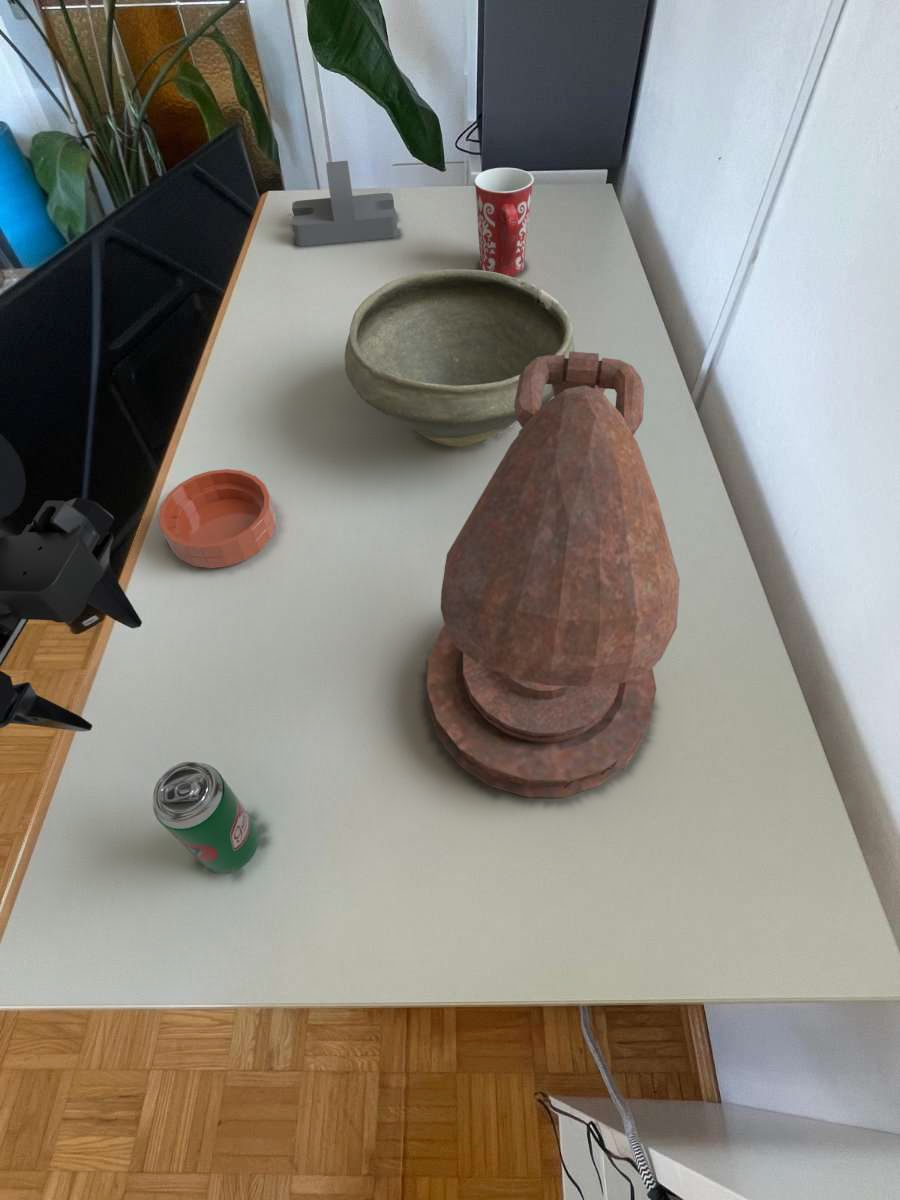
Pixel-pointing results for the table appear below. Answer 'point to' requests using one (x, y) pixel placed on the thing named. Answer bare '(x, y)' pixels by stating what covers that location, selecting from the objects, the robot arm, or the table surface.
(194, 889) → the table surface
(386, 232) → the bracket
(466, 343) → the bowl
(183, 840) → the soda can
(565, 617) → the rusty bell weight
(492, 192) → the mug
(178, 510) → the dish
